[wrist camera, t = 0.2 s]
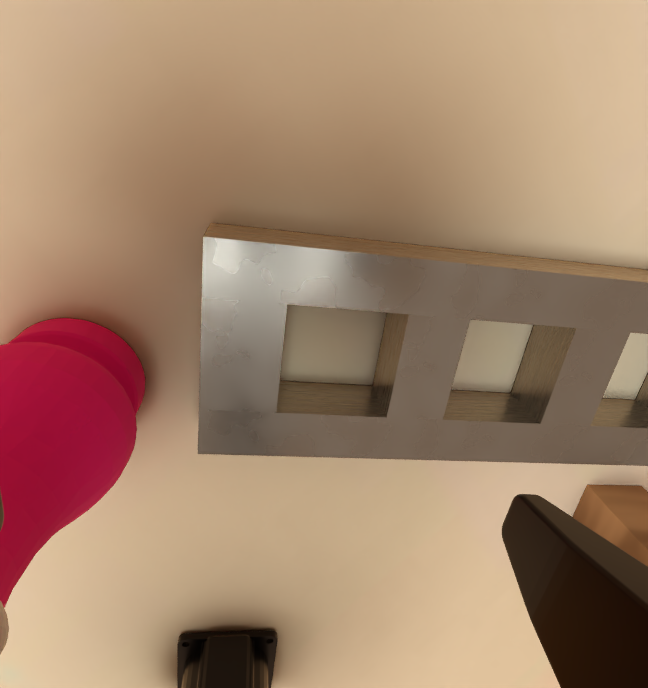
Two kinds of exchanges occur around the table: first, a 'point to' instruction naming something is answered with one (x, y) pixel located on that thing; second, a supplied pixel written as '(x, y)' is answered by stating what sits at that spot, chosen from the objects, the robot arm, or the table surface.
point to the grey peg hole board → (416, 352)
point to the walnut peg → (617, 516)
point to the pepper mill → (60, 433)
